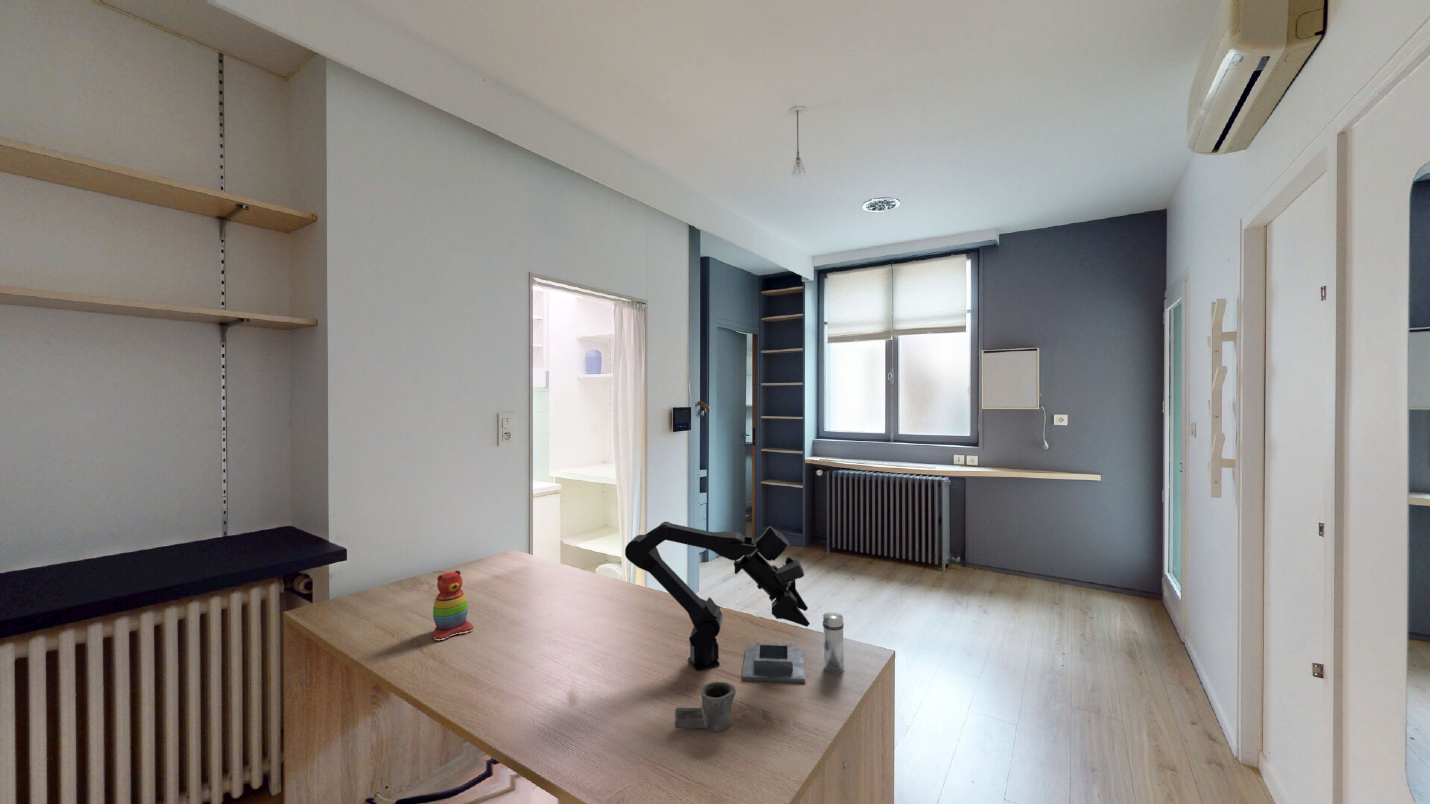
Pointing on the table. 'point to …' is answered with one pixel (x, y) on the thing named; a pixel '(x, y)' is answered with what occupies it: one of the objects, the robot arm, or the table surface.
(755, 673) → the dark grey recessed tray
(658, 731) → the table surface
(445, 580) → the stacking bear
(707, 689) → the pipe
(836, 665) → the silver banded cylinder
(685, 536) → the robot arm
